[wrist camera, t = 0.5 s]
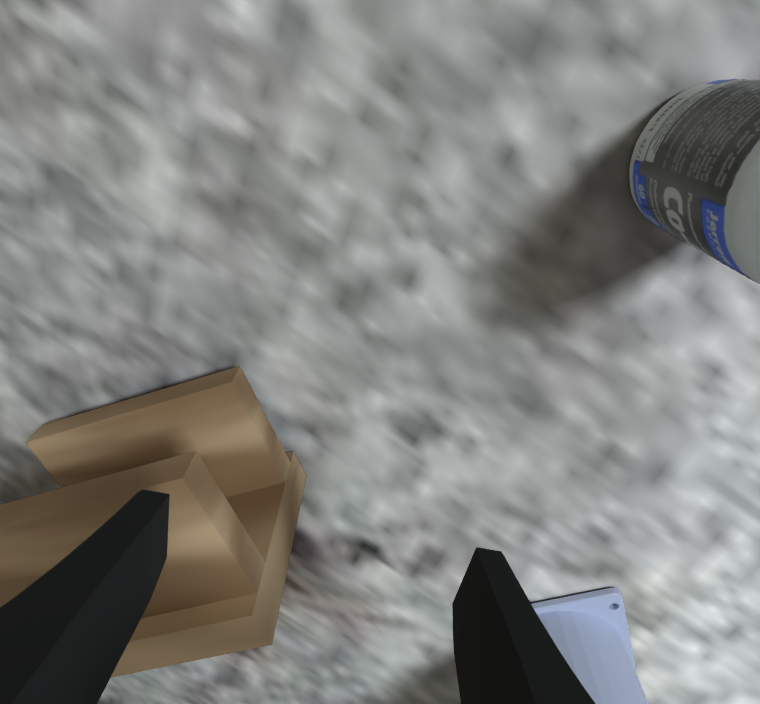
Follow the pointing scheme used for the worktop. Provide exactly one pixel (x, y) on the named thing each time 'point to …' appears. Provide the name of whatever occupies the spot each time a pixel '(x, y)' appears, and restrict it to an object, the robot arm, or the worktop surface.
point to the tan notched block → (171, 512)
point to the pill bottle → (705, 171)
